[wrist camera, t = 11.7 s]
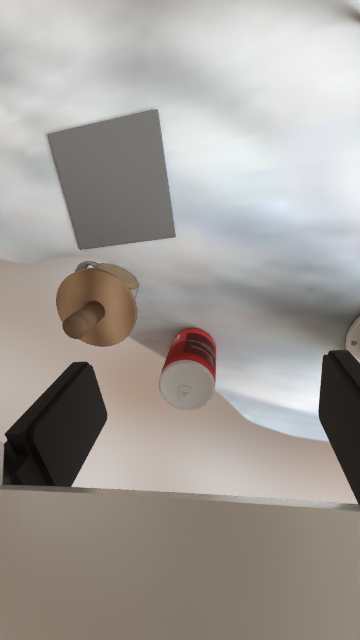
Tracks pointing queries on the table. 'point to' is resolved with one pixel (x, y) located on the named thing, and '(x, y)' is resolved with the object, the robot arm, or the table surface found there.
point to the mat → (115, 180)
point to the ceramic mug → (115, 270)
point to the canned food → (189, 370)
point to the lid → (96, 307)
